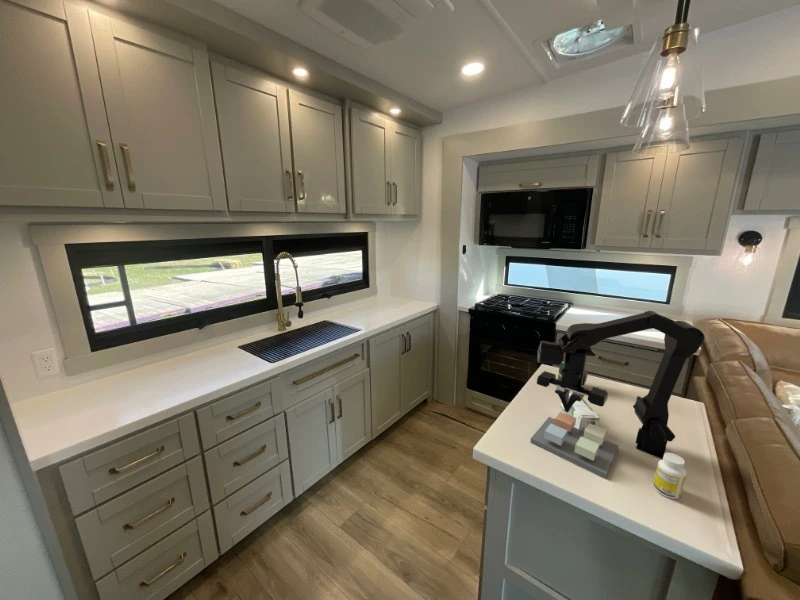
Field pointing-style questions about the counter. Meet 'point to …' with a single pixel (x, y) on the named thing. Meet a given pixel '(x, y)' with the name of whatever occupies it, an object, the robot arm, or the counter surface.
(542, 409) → the counter surface
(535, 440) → the keypad base
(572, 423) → the terracotta key
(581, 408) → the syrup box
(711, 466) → the counter surface
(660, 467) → the supplement bottle
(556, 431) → the slate blue key
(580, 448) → the sage green key
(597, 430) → the cream key
